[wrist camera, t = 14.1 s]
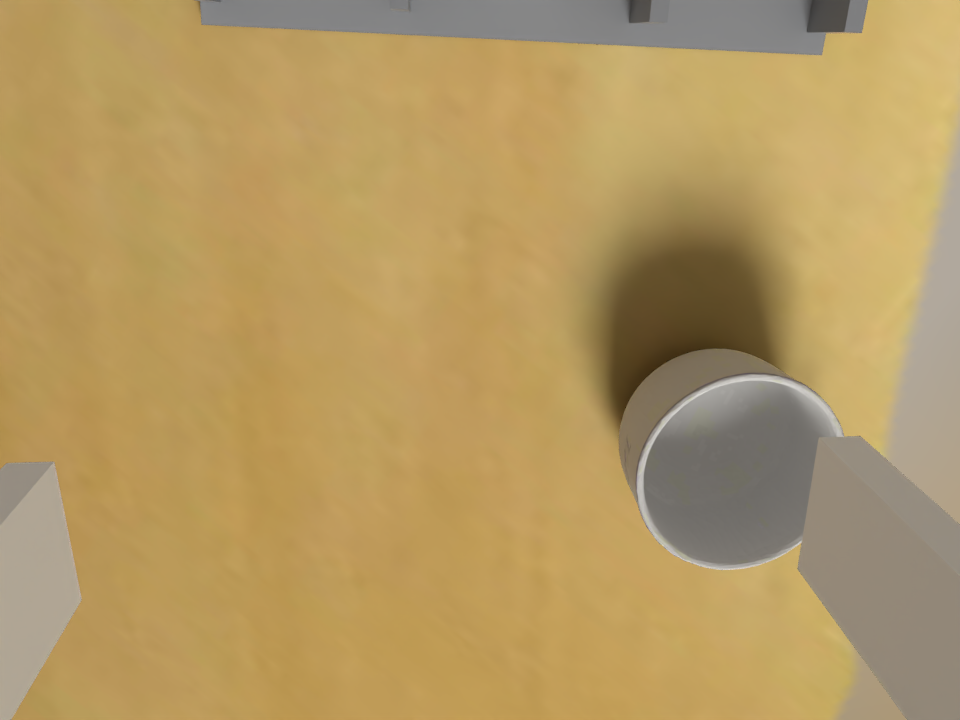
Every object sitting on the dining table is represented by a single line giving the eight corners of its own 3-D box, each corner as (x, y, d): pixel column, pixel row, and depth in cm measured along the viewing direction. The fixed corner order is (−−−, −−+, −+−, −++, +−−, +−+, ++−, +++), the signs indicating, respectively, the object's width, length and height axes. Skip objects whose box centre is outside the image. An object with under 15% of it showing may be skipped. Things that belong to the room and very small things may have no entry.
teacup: (568, 413, 49) (592, 480, 42) (714, 287, 47) (768, 334, 39) (713, 556, 53) (759, 641, 46) (854, 446, 51) (927, 517, 43)
